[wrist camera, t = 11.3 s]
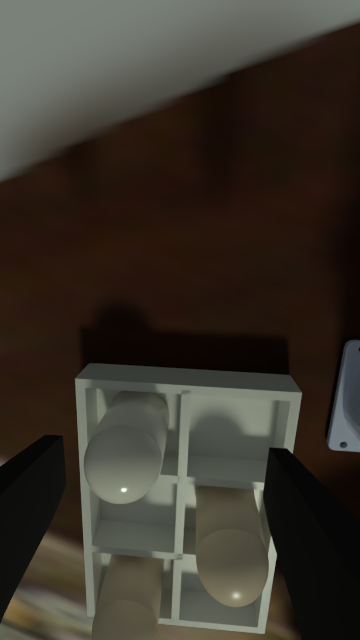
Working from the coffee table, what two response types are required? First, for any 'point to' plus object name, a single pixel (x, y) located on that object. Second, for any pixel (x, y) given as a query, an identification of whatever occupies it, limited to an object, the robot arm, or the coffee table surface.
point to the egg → (128, 447)
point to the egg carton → (187, 503)
